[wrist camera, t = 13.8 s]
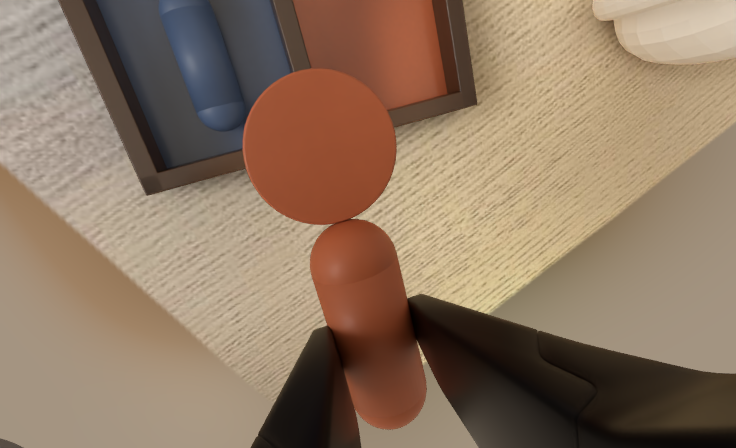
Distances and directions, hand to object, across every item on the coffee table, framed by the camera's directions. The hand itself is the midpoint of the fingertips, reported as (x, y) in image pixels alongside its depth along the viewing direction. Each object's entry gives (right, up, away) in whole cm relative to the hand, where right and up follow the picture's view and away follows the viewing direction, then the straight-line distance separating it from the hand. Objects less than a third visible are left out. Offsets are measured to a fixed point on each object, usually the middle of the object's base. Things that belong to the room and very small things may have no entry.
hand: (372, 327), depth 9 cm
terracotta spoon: (-1, +2, 0) cm, 2 cm away
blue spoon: (-7, +11, +7) cm, 15 cm away
